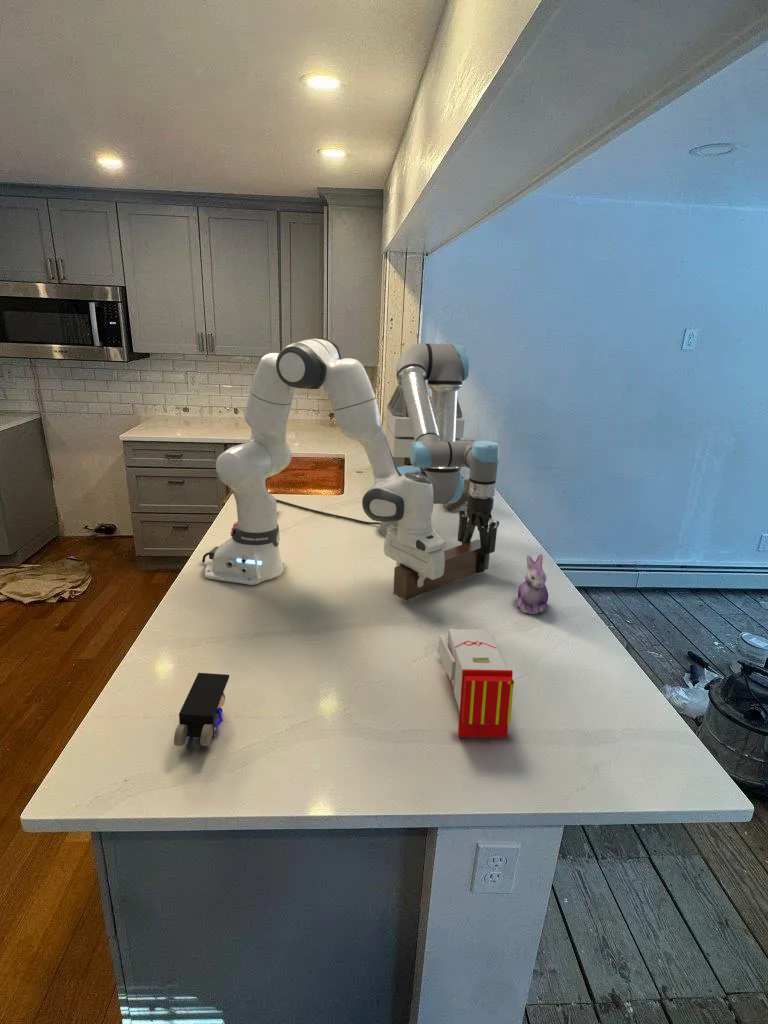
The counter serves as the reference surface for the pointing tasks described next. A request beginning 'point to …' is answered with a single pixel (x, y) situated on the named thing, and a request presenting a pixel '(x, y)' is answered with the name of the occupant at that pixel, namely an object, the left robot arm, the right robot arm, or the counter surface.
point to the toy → (478, 682)
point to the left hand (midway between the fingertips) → (411, 581)
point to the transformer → (407, 428)
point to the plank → (456, 567)
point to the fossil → (461, 500)
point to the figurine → (533, 588)
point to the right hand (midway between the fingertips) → (473, 568)
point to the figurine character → (201, 710)
